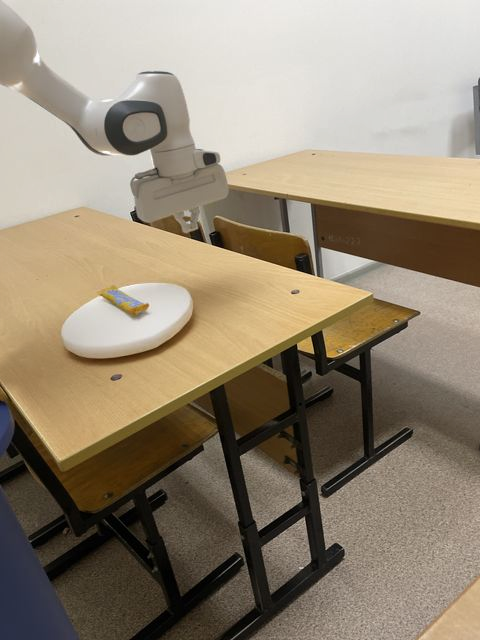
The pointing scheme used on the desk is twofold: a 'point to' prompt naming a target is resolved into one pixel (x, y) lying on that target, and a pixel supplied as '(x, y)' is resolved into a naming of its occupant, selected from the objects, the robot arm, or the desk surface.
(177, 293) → the plate
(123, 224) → the desk surface
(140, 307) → the candy bar
